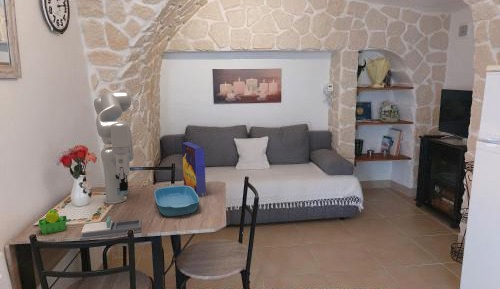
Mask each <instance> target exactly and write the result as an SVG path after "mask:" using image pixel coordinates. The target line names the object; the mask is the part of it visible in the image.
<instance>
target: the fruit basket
mask: <svg viewBox="0 0 500 289" xmlns="http://www.w3.org/2000/svg"><path fill="white" fill-rule="evenodd" d="M67 218H68V217H67V215H62V216H60V214H59V212H57V211H56V210H55V209H54V208H51V209H50V210H48V211H47V213H46V215H45V218H43V219H39V220H38V227H39V229H40V232H41V233H42V235H46V234H52V233H57V232H63V231H65V230H66V224H67Z"/></svg>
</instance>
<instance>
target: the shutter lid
mask: <svg viewBox="0 0 500 289" xmlns="http://www.w3.org/2000/svg"><path fill="white" fill-rule="evenodd" d="M112 222H113V220H112V217H111V215H108V216H107V219H106V221H101V222H92V223H91V222H90V223H85V224H84V225H83V227H82V230H81V232H80V234H81V235H82V233H90V232H98V231H107V230H111V226H112Z"/></svg>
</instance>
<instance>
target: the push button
mask: <svg viewBox="0 0 500 289" xmlns="http://www.w3.org/2000/svg"><path fill="white" fill-rule="evenodd" d="M124 175H125V174H124ZM115 176H116V179H118V188H117V194H118V195H121V194H124V195H128V194H129V193H131V192H132V189H131V188H130V189H129V188H128V190H127V191H120V185H119V180H120V178H119V176H118V175H117V174H116V175H115ZM124 178H125V177H124ZM126 178H127V179H128V176H127V175H126Z"/></svg>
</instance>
